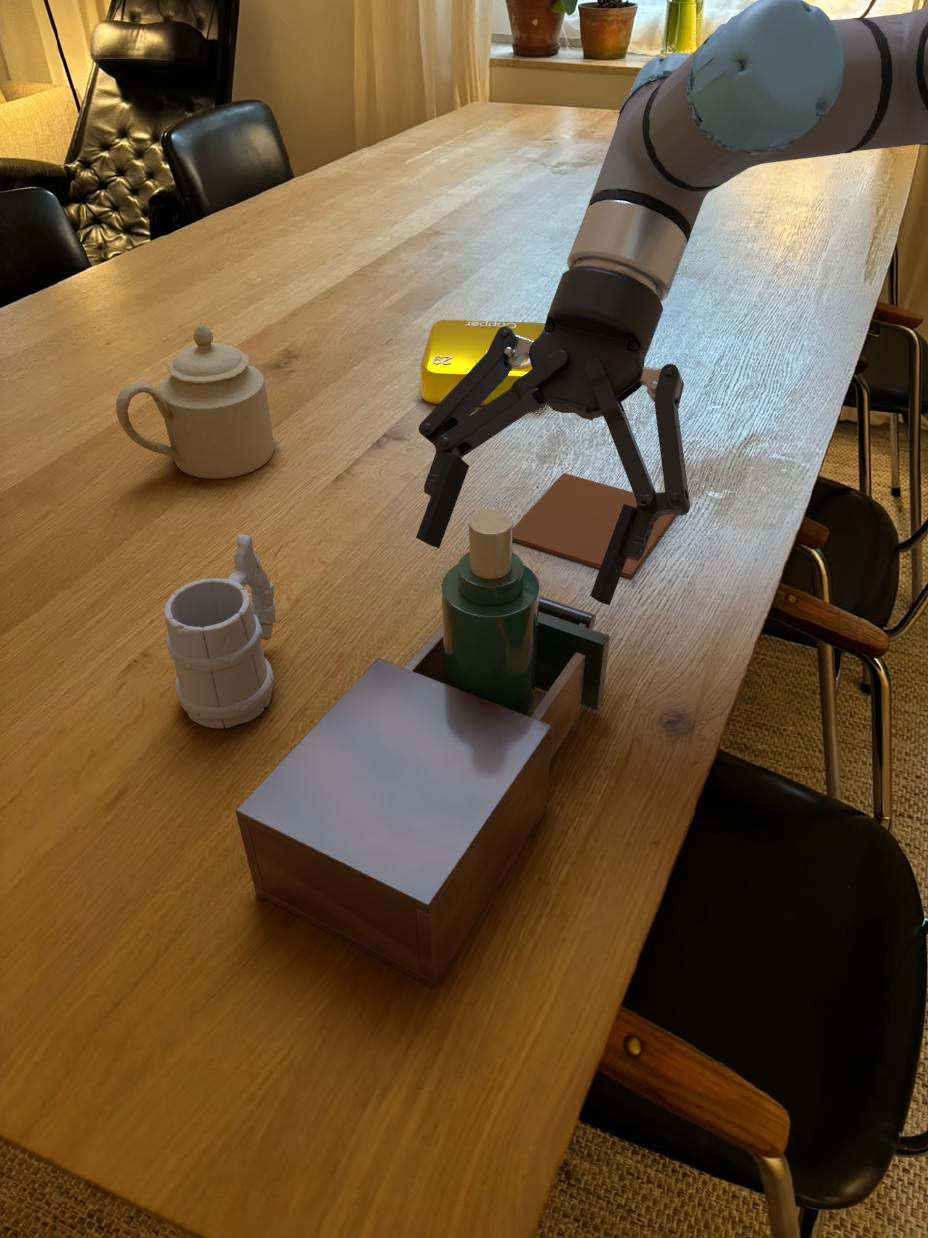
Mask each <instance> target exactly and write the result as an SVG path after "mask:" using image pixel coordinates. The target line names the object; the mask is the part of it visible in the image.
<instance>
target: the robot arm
mask: <svg viewBox="0 0 928 1238" xmlns="http://www.w3.org/2000/svg"><path fill="white" fill-rule="evenodd" d="M616 121H617V122H616V127H615V128H614V133H613V135H612V138H611V140H610V142H609V146H608V149H607V152H606V154H605V157H604V160H603V162H602V165H601V168H600V171H599V174H598V176H597V180H596V182H595V184H594V187H593V191H592V193H591V197H590V199H589V202H588V205H587V208H586V210H585V213H584V216H583V218H582V221H581V223H580V226H579V229H578V231H577V233H576V236H575V238H574V241H573V244H572V246H571V249H570V252H569V254H568V257H567V259H566V265H567V267H568V270H566V271H564V272H563V273H562V275H561V277H560V280H559V283H558V285H557V288H556V291H555V293H554V296H553V298H552V301H551V304H550V306H549V310H548V312H547V315H546V318H545V323H544V324H545V327H544V329H543V331H542V333H541V334H540V336H539V337H538V338H537V339H536V340H535V341H532V340H529V339H526V338H524V337H521V336H518V335H516V334H515V333H514V332H513V331H512V329H511V328H510V327H508V326H503V327H501V328H500V329H499V330H498V331H497V333H496V335H495V337H494V339H493V341H492V343H491V345H490V347H489V350H488V352H487V353H486V354H485V355H484V356H483V357H482V358H481V360H480V361H479V362H478V363H477V364H476V365H475V366H474V367H473V368H472V369H471V370H470V371H469V372H468V373H467V374H466V376H465V377H464V378H463V379H462V380H461V381H460V382H459V383H458V384H457V385H456V386H455V387H454V388H453V389H452V390H451V391H450V393H449V394H448V395H447V396H446V397H445V398H444V399H443V400H442V401H441V402H440V403H439V404H436V406H435V407H434V408H433V409H432V411H430V413H429V414H428V415H427V416H426V417H425V418H424V419H423V420H422V421H421V422H420V423H419V426H418V432H419V434H420V435H421V436H422V437H424V438H425V439H426V440H427V441H429V442H430V443H431V444H432V445H433V446H434V448H435V454H434V457H433V459H432V463H431V465H430V468H429V471H428V473H427V477H426V479H425V482H424V484H423V492H424V493H425V495H428V496H429V497H430V498H429V501H428V503H427V506H426V509H425V511H424V514H423V517H422V519H421V523H420V525H419V528H418V531H417V533H416V536H415V538H416V539H417V540H419V541H421V542H423V543H425V544H427V545H428V546H431V547H434V548H436V549H440V547H441V545H442V542H443V539H444V536H445V534H446V531H447V529H448V526H449V523H450V520H451V518H452V515H453V512H454V510H455V508H456V504H457V501H458V498H459V496H460V493H461V491H462V488H463V484H464V483H465V480H466V476H467V474H468V472H469V468H470V465H469V464H468V463H467V462H465V460H463V458H464V457H465V456H466V455H468V454H470V453H471V452H473V451H474V450H476V449H477V448H478V447H480V446H481V445H483V444H485V443H486V442H487V441H489V440H490V439H492V438H493V437H495V436H496V435H498V434H500V433H501V432H502V431H504V430H505V429H507V428H508V427H510V426H512V425H513V424H514V423H516V422H517V421H518V420H520V419H522V418H523V417H525V416H526V415H528V414H529V413H534V412H537V411H539V410H541V409H542V408H543V407H545V406H546V405H547V406H548V407H549V408H551V410H552V411H553V412H557V413H561V414H575V415H577V416H578V417H580V418H582V419H584V420H588V421H591V422H593V421H594V419H598V418H602V417H603V419H604V421H605V423H606V426H607V428H608V431H609V433H610V436H611V439H612V441H613V444H614V446H615V448H616V451H617V455H618V457H619V459H620V463H621V465H622V467H623V469H624V473H625V474H626V475H625V476H626V477H627V480H628V482H629V486H630V488H631V490H632V492H633V493H634V496H635V498H636V503H637V507H636V508H635V507H633V506H630V505H626V504H623V507H622V510H621V512H620V515H619V518H618V521H617V523H616V526H615V529H614V532H613V534H612V537H611V540H610V543H609V545H608V548H607V551H606V554H605V556H604V559H603V562H602V564H601V567H600V569H599V570H598V572H597V575H596V577H595V578H596V579H595V581H594V583H593V586H592V589H591V592H590V594H589V597H591V598H593V599H594V600H596V601H597V602H599V603H601V604H605V605H607V606H610V605H611V603H612V601H613V598H614V595H615V592H616V589H617V587H618V584H619V581H620V579H621V577H622V576H621V573H622V570H623V568H624V565H625V562H626V559H627V558H628V559H631V560H634V561H637V562H638V561H639V560H640V558H641V557H642V556H643V554H644V552H645V549H646V546H647V543H648V541H649V538H650V535H651V532H652V530H653V527H654V524H655V522H656V520H657V519H658V518H659V517H661V516H663V515H673V514H676V516H680V517H682V516H685V515H687V514H688V513H689V511H690V509H691V501H690V494H689V485H688V478H687V471H686V463H685V462H686V461H685V454H684V445H683V439H682V430H681V422H680V414H679V408H680V404H681V399H682V395H683V391H684V388H685V387H684V386H685V382H684V380H683V377H682V374H681V373H680V370H679V368H678V366H677V365H675V364H674V363H667V364H665V365H664V366H662V367H661V368H657V367H649V366H645V361H646V358H647V355H648V353H649V350H650V348H651V345H652V342H653V340H654V337H655V334H656V332H657V328H658V325H659V323H660V320H661V317H662V315H663V311H664V307H663V304H662V302H664V301H665V300H666V299H667V298H668V297H669V294H670V292H671V289H672V287H673V283H674V281H675V278H676V275H677V273H678V270H679V267H680V265H681V262H682V259H683V257H684V254H685V251H686V250H687V246H688V243H689V241H690V238H691V234H692V232H693V229H694V227H695V224H696V221H697V218H698V216H699V213H700V211H701V209H702V206H703V204H704V202H705V201H704V200H705V198H706V197H707V195H708V194H709V192H711V191H713V190H715V189H717V188H719V187H721V186H722V185H724V184H726V183H727V182H729V181H731V180H732V179H733V178H735V177H737V176H738V175H740V174H742V173H743V172H745V171H746V170H748V169H751V168H753V167H755V166H759V165H764V164H771V163H781V162H788V161H789V162H790V161H797V160H805V159H814V158H820V157H829V156H838V155H841V154H851V153H853V152H861V151H870V150H880V149H888V148H889V149H890V148H899V147H907V146H908V147H909V146H918V145H921V146H928V5H926V6H924V7H922V8H919V9H916V10H915V9H914V10H912V11H909V12H904V13H897V14H889V15H879V16H870V17H852V18H843V19H842V18H841V19H831V18H830V17H829V15H827V13H826V12H825V11H823V9H822V8H820V7H819V6H817V5H812V4H811V3H808V2H807V1H804V0H756V1H754V2H752V3H751V4H750V5H748V6H746V8H744V9H743V10H742V11H740V12H739V13H738V14H736V15H733V16H732V17H730V18H729V19H728V20H727V22H726V23H722V24H720V25H719V26H718V27H717V28H716V29H715V31H713V32H712V33H710V34H709V35H708V36H707V37H706V39H704V40H703V42H702V44H701V45H700V46H699V47H698V48H697V49H696V50H694V52H693V53H687V52H686V53H685V52H672V53H670V54H669V55H668V56H666V57H663V56H656V57H653V58H652V59H650V60H649V61H648V62H646V63H645V64H644V65H643V66H642V67H641V69H640V70H639V72H638V73H637V75H636V76H635V80H634V82H633V83H632V86H631V88H630V91H629V93H628V95H627V97H625V99H624V100H623V102H622V105H621V106H620V109H619V112H618V118H617V120H616ZM527 358H529V359H530V362H531V366H532V370H530V371H529V372H528V373H526V374H525V375H523V376H522V377H520V378H519V379H517V380H516V381H515V382H514V383H513V385H512V387H511V388H510V389H509V390H507V391H506V392H504V393H503V394H501V395H500V396H498V397H497V398H495V399H494V400H493V401H491V402H490V403H488V404H487V405H485V406H480V405H481V403H482V402H483V401H484V400H485V399H486V398H487V397H488V396H489V395H490V394H491V393H492V392H493V391H494V390H495V389H496V388H497V387H498V386H499V385H500V383H501V382H502V381H503V380H504V379H505V378H506V377H507V376H508V374H509V373H510V371H511V370H512V368H513V367H518V366H520V365H521V363H522V361H523V360H525V359H527ZM642 386H644V387H646V391H647V395H648V397H649V399H650V400H651V401H652V402H654V410H655V420H656V425H657V426H656V429H657V435H658V443H659V444H658V445H659V452H660V460H661V470H662V478H663V485H664V491H659V492H656V488H655V486H654V483H653V481H652V479H651V476H650V473H649V470H648V469H647V466H646V463H645V461H644V458H643V455H642V453H641V450H640V447H639V445H638V443H637V440H636V437H635V434H634V433H633V430H632V427H631V424H630V421H629V418H628V415H627V414H626V411H625V408H624V406H623V403H622V402H624V401H626V399H628V398H629V397H630V396H631V395H633V394H635V393H636V392H637V391H638V390H639V389H641V388H642ZM537 388H538V389H537ZM534 390H535V391H534ZM479 407H480V408H479ZM478 408H479V409H478ZM477 409H478V410H477ZM476 410H477V411H476Z"/></svg>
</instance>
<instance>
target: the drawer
mask: <svg viewBox="0 0 928 1238" xmlns="http://www.w3.org/2000/svg"><path fill="white" fill-rule="evenodd" d="M596 619H597V616H596V615H595V614H594V613H591V612H588V611H585V610H582V609H579V608H576V607H573V606H570V605H568V604H564V603H561V602H559V601H555V600H553V599H549V598H546V597H544V596H541V595H539V611H538V631H537V652H536V673H535V689H539V690H541V691H544V692H546V694H544V693H542V692H538V691H536V690H535V694H534V712H533V713H532V714H531V716H530V717H531V718H534V719H536V720H539V721H541V722H544V723H546V724H549V725H551V726H552V737H551V752H550V761H551V760H552V758H553V757H554V756H555V754H556V752H557V751H558V749H560V746H561V745H562V744H563V742H564V740H565V739H566V738H567V736H568V735H569V733H570V731H571V730H572V728H573V727H574V725H575V724H576V722H577V721H578V719H579V718H580V717H581V711H582V710H581V709H582V708H581V707H582V706H584V707H587V708H589V709H592V710H595V711H598V710H599V708H600V706H601V705H602V704H603V702H604V694H605V693H604V692H605V683H606V676H607V668H608V667H607V666H608V658H609V650H610V649H609V648H610V641H611V639H610V638H611V636H610V635H609V634H605V633H603V632H601V631H597V630H594V629H593V628H594V627H595V624H596ZM402 667H403V668H406V669H408V670H411V671H413V672H416V673H419V674H421V675H424V676H426V677H429V678H431V679H434V680H436V681H439V682H442V683H444V684H445V674H444V644H443V623H442V624H441V625H440V626H439V627H438V628H437V629H436V630H435V632H434V633H433V634H431V636H430V637H429V638H428V639H427V641H426V642H425V643H424V644H423V645H422V646H421V647H420V648H419V649H418V650H417V652H416V653H415V654H414V655H413V656H412V657H411V658H410V659H409V660H408V662H407V663H406V664H405V665H404V666H402Z"/></svg>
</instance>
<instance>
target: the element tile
mask: <svg viewBox="0 0 928 1238" xmlns="http://www.w3.org/2000/svg"><path fill="white" fill-rule="evenodd" d="M503 326H508V327H510V328H511V329H512V331H513V332H514V333H515V334H516V335H518V336H521V337H524V338H526V339H529V340H532V341H535V340H536V339H537V338H538V337H539V336H540V334H541V333H542V331H543V329H544V327H545V323H543V322H534V321H533V322H532V321H529V322H528V321H498V320H466V319H465V320H464V319H463V320H462V319H440V320H437V321H436V322H435V323H433V324H432V326H431V328H430V332H429V335H428V338H427V342H426V345H425V348H424V352H423V355H422V359H421V362H420V365H419V370H420V371H419V372H420V393H421V398H422V399H423V400H424V401H425V402H427V403H429V404H434V405H438V404H439V403H440V402H441V401H442V400H443V399H444V398H445V397H446V396H447V395H448V394H449V393H450V391H451V390H452V389H453V388H454V387H455V386H456V385H457V384H458V383H459V382H460V381H461V380H462V379H463V378H464V377H465V376H466V374H467V373H468V372H469V371H470V370H471V369H472V368H473V367H474V366H475V365H476V364H477V363H478V362H479V361H480V360H481V358H482V357H483V356H484V355H485V354H486V353H487V352H488V350H489V347H490V345H491V343H492V341H493V339H494V337H495V335H496V333H497V331H498V330H499V329H500V328H501V327H503ZM530 370H532V366H531V362H530V359H529V358H527V359H525V360H523V361H522V363H521V365H520V366H518V367H513V368H512V370H511V371H510V373H509V374H508V376H507V377H506V378H505V379H504V380H503V381H502V382H501V383H500V385H499V386H498V387H497V388H496V389H495V390H494V391H493V392H492V393H491V394H490V395H489V396H488V397H487V398H486V399H485V400H484V401H483V402H482V403H481V405H480V406H479V407H484V406H485V405H487V404H488V403H490V402H491V401H493V400H494V399H495V398H497V397H498V396H500V395H501V394H503V393H504V392H506V391H507V390H509V389H510V388H511V387H512V385H513V383H514V382H515V381H516V380H517V379H519V378H520V377H522V376H523V375H525V374H526V373H528V372H529V371H530ZM537 389H538V388H537ZM534 391H535V390H534Z"/></svg>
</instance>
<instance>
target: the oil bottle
mask: <svg viewBox="0 0 928 1238" xmlns="http://www.w3.org/2000/svg"><path fill="white" fill-rule="evenodd" d="M513 528H514V520H513V518H512V516H511V515H509V514H508V513H507V512H506V511H502V510H498V509H483V510H480V511H477V512H475V513H473V514H472V516H471V517H470V518H469V521H468V542H469V544H468V545H469V546H468V547H469V550H468V552H467V553H465V554H464V555H463V556H462V557H460V560H459V561H458V563H457V564H456V565H454V566H453V567H451V568H450V569H449V570H448V571H447V572H446V574H445V575H444V577H443V579H442V581H441V609H442V611H441V612H442V624H443V644H444V674H445V684H447V685H449V686H452V687H454V688H457V689H459V690H462V691H465V692H467V693H470V694H472V695H475V696H477V697H480V698H482V699H485V700H488V701H490V702H493V703H495V704H498V705H500V706H503V707H506V708H508V709H511V710H513V711H516V712H518V713H521V714H523V715H526V716H529V717H530V716H531V714H532V713H533V712H534V694H535V691H536V687H535V673H536V652H537V631H538V611H539V596H540V590H541V589H540V587H541V585H540V582H539V579H538V577H537V575H536V573H534V571H533V570H531V568H530V567H528V566H526V565H525V564H524V562H523V561H522V559H521V558H520V556H519V555H517V554H516V553H514V552H513V541H512V540H513Z"/></svg>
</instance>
